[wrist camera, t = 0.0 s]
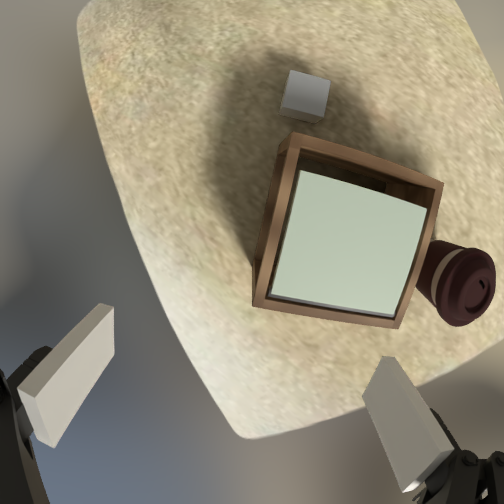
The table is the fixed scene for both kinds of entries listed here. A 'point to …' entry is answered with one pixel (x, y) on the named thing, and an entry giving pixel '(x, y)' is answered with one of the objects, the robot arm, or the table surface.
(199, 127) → the table surface
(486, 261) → the coffee cup
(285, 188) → the box frame
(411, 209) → the trapdoor
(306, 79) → the block
